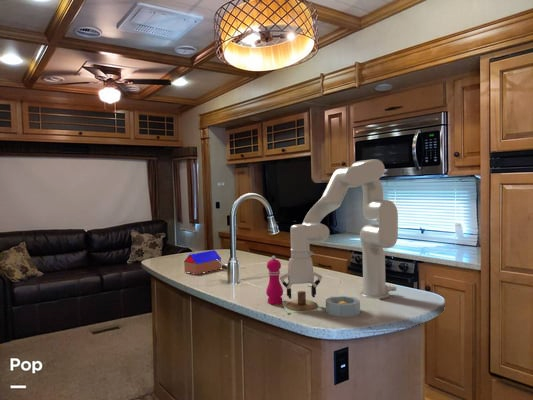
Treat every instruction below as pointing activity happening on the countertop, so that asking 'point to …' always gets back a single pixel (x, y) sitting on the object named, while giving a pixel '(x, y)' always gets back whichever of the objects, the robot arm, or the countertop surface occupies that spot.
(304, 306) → the lid
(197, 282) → the countertop surface
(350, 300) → the bowl
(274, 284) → the pepper mill
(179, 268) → the countertop surface
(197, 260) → the house
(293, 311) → the mat
